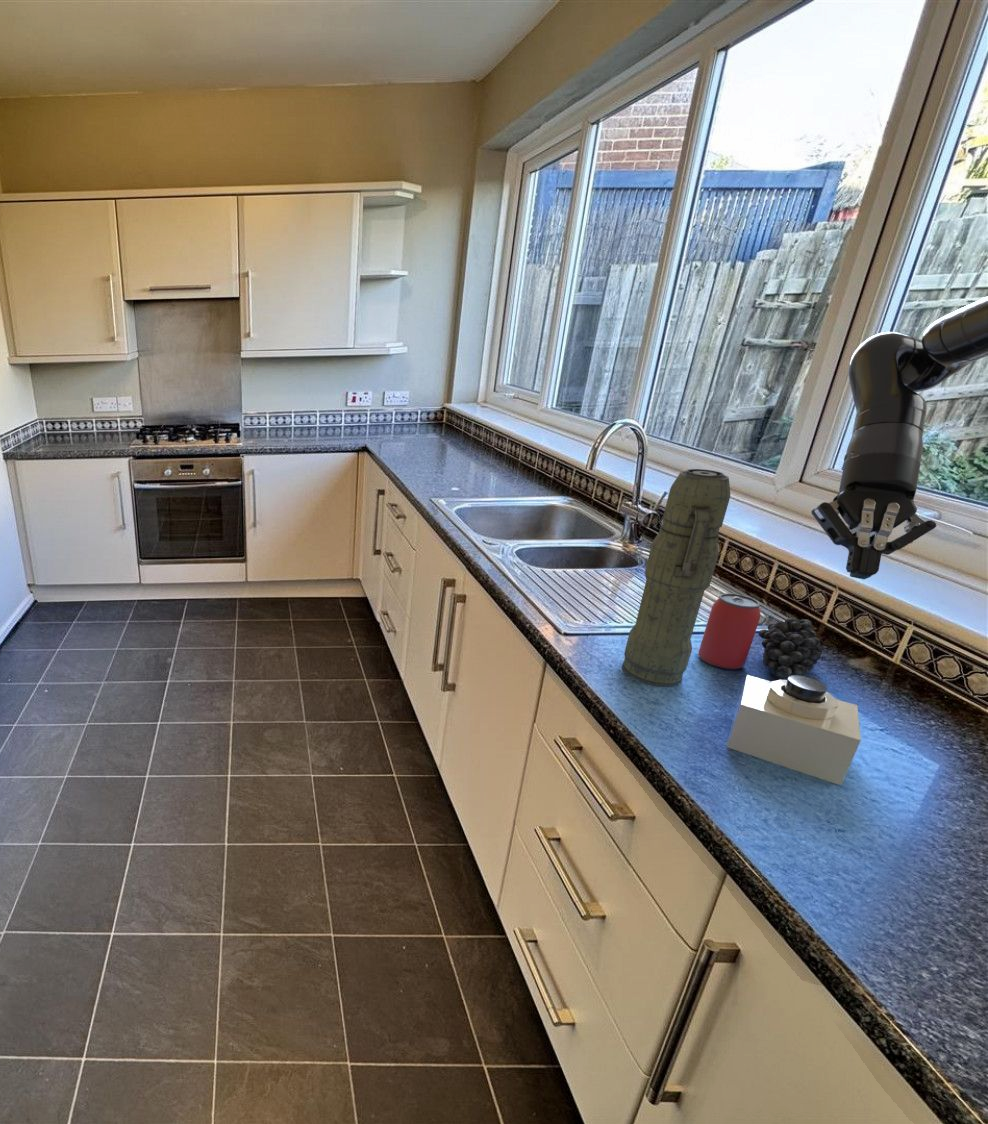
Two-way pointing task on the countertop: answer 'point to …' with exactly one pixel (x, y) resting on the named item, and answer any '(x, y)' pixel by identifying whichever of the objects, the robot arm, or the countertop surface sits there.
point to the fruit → (790, 647)
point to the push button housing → (795, 730)
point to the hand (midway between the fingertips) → (861, 576)
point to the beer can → (730, 631)
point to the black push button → (805, 689)
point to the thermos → (677, 578)
